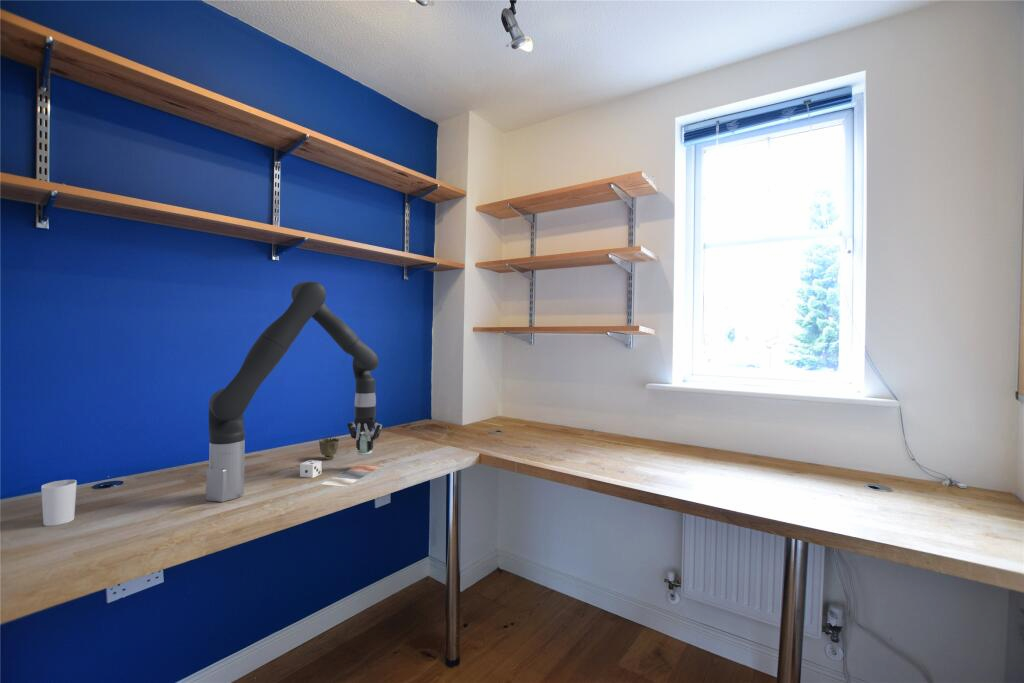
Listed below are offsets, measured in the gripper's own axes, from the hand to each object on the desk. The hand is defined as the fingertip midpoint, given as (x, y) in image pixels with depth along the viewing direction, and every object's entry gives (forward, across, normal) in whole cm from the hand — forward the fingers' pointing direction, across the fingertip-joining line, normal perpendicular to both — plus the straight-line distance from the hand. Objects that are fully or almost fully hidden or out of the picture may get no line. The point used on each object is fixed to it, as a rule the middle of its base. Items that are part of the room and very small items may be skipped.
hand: (364, 449), depth 168 cm
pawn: (+1, 0, 0) cm, 1 cm away
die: (+7, -14, -12) cm, 20 cm away
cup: (+8, -21, +9) cm, 24 cm away
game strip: (+7, 0, -8) cm, 11 cm away
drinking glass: (+7, -53, -62) cm, 82 cm away
